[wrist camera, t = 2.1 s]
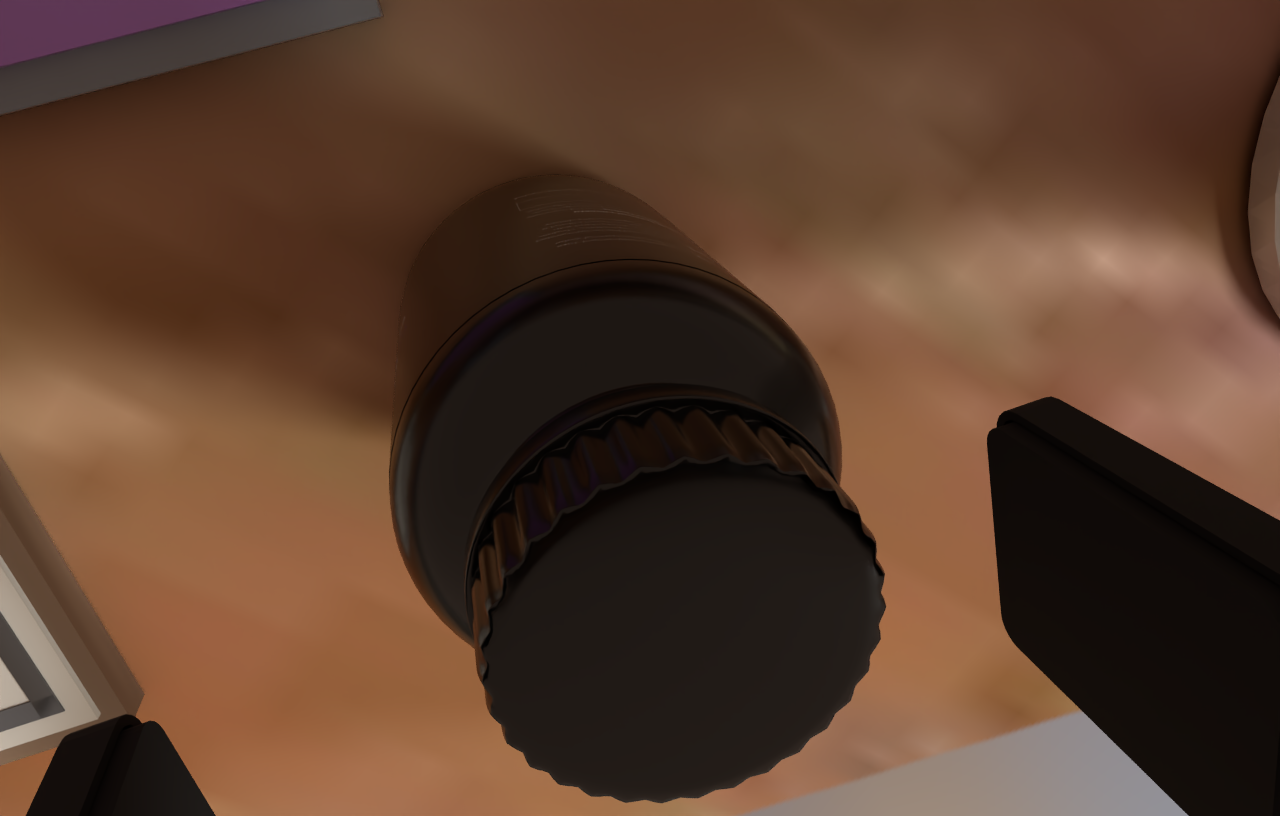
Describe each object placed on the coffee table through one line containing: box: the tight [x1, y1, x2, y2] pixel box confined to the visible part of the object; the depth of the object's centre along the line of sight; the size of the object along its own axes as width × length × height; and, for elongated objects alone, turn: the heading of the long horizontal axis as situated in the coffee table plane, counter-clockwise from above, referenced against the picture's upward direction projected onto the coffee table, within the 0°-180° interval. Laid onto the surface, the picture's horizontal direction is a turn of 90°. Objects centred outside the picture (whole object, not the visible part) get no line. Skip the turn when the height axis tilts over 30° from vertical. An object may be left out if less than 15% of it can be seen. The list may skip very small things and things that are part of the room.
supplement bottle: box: [389, 175, 886, 803], centre depth 16 cm, size 7×7×12 cm
